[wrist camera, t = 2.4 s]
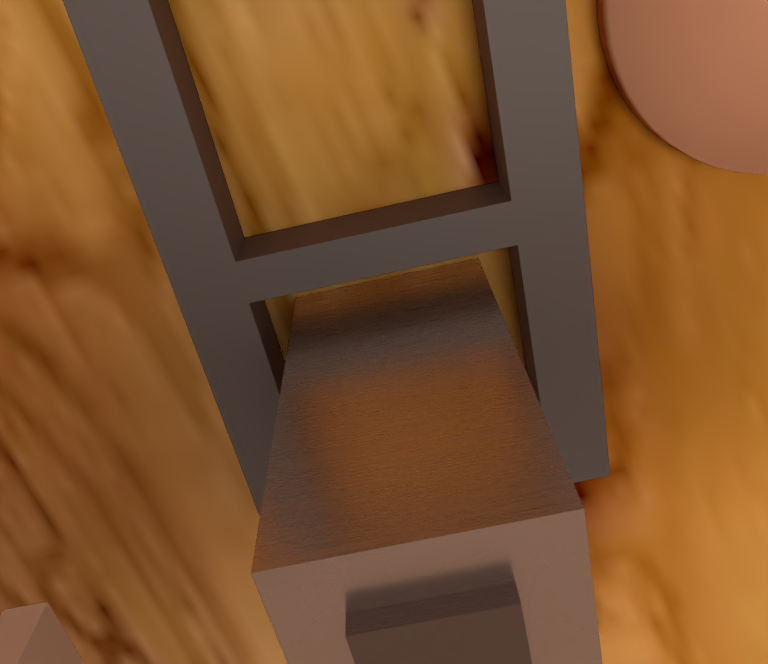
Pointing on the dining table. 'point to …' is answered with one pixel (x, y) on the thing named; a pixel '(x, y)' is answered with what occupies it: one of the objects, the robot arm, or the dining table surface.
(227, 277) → the grey double frame
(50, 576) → the dining table surface
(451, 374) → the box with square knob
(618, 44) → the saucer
